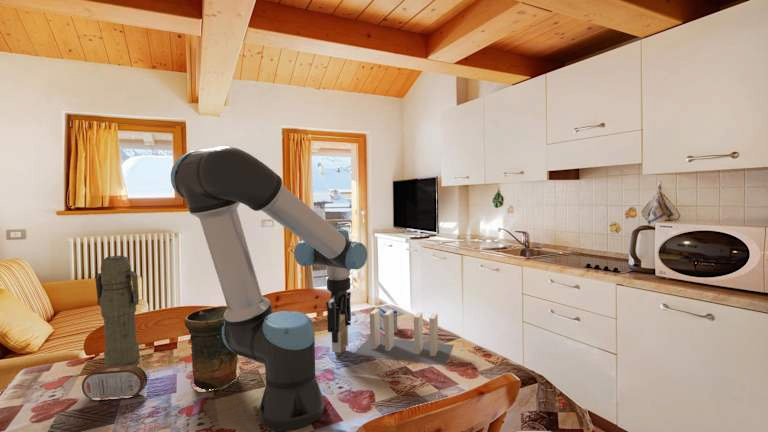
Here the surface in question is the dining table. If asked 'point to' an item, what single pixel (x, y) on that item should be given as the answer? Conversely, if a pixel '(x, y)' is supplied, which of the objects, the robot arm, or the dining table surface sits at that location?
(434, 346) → the domino
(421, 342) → the domino
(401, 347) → the mat
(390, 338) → the domino
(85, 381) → the tin
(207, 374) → the vessel
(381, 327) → the medicine box
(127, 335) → the stone statue
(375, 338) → the domino
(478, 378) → the dining table surface
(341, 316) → the oak domino
